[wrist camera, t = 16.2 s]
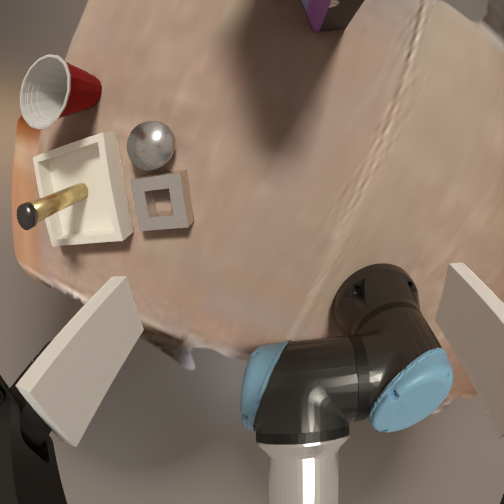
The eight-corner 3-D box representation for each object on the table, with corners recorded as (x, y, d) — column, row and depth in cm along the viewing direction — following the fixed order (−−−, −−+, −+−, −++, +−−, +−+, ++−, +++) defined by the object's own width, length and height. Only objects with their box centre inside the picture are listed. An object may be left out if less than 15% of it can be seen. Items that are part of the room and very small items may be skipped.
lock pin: (91, 199, 43) (34, 228, 30) (77, 202, 43) (21, 231, 30) (87, 178, 41) (27, 202, 28) (72, 183, 42) (14, 207, 29)
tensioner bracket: (194, 221, 44) (187, 228, 40) (148, 224, 45) (138, 232, 41) (180, 117, 37) (171, 116, 34) (132, 127, 38) (121, 127, 35)
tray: (134, 231, 45) (122, 240, 42) (64, 238, 48) (52, 246, 44) (116, 131, 39) (103, 132, 35) (47, 153, 41) (32, 157, 37)
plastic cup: (70, 132, 39) (21, 140, 28) (63, 78, 35) (16, 75, 24) (119, 112, 37) (71, 112, 27) (111, 54, 33) (65, 40, 22)
